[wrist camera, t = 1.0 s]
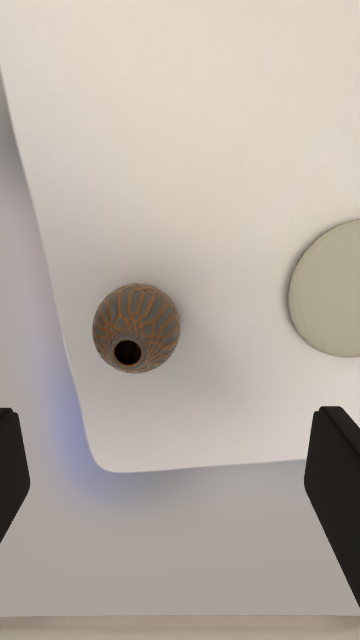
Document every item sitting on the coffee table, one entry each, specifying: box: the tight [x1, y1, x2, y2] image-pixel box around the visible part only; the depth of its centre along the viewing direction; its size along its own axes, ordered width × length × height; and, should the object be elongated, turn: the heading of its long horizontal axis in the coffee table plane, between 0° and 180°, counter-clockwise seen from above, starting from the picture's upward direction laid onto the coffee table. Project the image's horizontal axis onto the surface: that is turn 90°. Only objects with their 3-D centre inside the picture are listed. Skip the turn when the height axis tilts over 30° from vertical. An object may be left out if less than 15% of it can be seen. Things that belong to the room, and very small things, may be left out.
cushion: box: [288, 219, 360, 357], centre depth 27 cm, size 12×12×3 cm
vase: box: [92, 284, 180, 373], centre depth 25 cm, size 7×7×9 cm
